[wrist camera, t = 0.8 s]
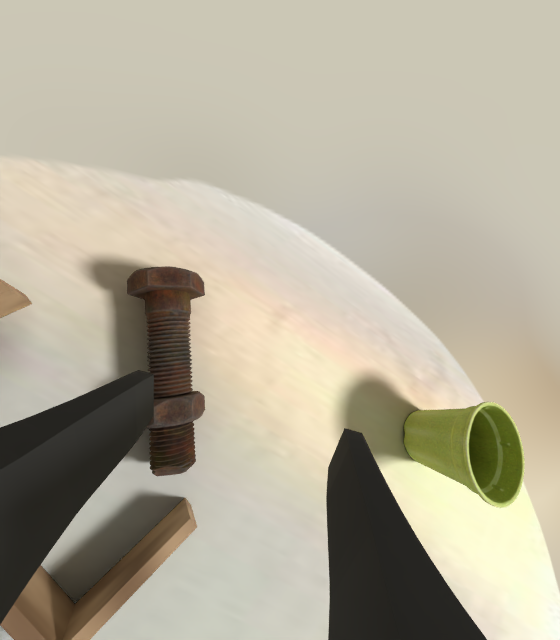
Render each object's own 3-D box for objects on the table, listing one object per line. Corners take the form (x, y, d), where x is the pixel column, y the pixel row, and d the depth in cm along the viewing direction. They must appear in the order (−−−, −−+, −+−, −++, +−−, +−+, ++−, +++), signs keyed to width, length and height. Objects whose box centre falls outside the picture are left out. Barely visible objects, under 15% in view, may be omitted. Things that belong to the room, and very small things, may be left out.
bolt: (161, 456, 23) (157, 288, 25) (218, 453, 23) (209, 282, 25) (114, 491, 17) (114, 268, 19) (190, 486, 17) (181, 261, 19)
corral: (69, 625, 17) (51, 680, 14) (-157, 373, 15) (-235, 372, 12) (191, 505, 21) (197, 527, 18) (25, 294, 20) (0, 279, 16)
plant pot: (379, 433, 31) (454, 452, 23) (417, 381, 35) (491, 383, 27) (420, 494, 32) (505, 532, 24) (452, 436, 36) (534, 452, 28)
